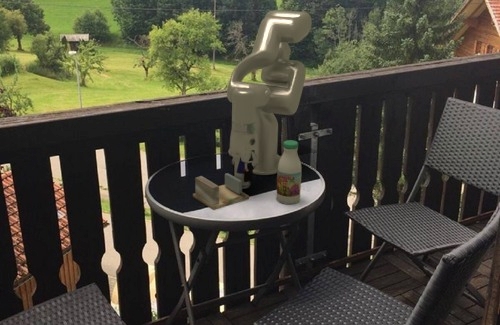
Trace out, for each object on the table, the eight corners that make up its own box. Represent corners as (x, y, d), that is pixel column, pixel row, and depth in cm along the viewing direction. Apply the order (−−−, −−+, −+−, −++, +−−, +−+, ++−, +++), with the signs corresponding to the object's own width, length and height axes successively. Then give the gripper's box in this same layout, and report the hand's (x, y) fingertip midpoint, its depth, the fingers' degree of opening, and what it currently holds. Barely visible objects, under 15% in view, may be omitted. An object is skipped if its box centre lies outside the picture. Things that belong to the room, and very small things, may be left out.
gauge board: (227, 186, 188) (227, 167, 185) (248, 198, 179) (249, 179, 176) (193, 196, 180) (192, 176, 177) (213, 209, 171) (213, 189, 168)
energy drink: (248, 189, 181) (249, 155, 176) (232, 188, 181) (233, 154, 177) (251, 183, 185) (252, 150, 181) (236, 181, 186) (236, 148, 182)
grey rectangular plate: (227, 185, 185) (227, 173, 183) (246, 196, 177) (246, 183, 176) (224, 186, 184) (224, 173, 183) (243, 197, 177) (243, 184, 175)
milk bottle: (277, 193, 183) (280, 137, 176) (300, 195, 182) (304, 139, 174) (274, 203, 176) (277, 145, 169) (298, 205, 175) (302, 147, 167)
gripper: (269, 131, 172) (267, 184, 178) (236, 118, 184) (236, 168, 191) (250, 135, 167) (249, 189, 174) (218, 121, 180) (218, 172, 187)
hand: (242, 177), depth 182 cm, fingers closed on energy drink, 5 cm apart
